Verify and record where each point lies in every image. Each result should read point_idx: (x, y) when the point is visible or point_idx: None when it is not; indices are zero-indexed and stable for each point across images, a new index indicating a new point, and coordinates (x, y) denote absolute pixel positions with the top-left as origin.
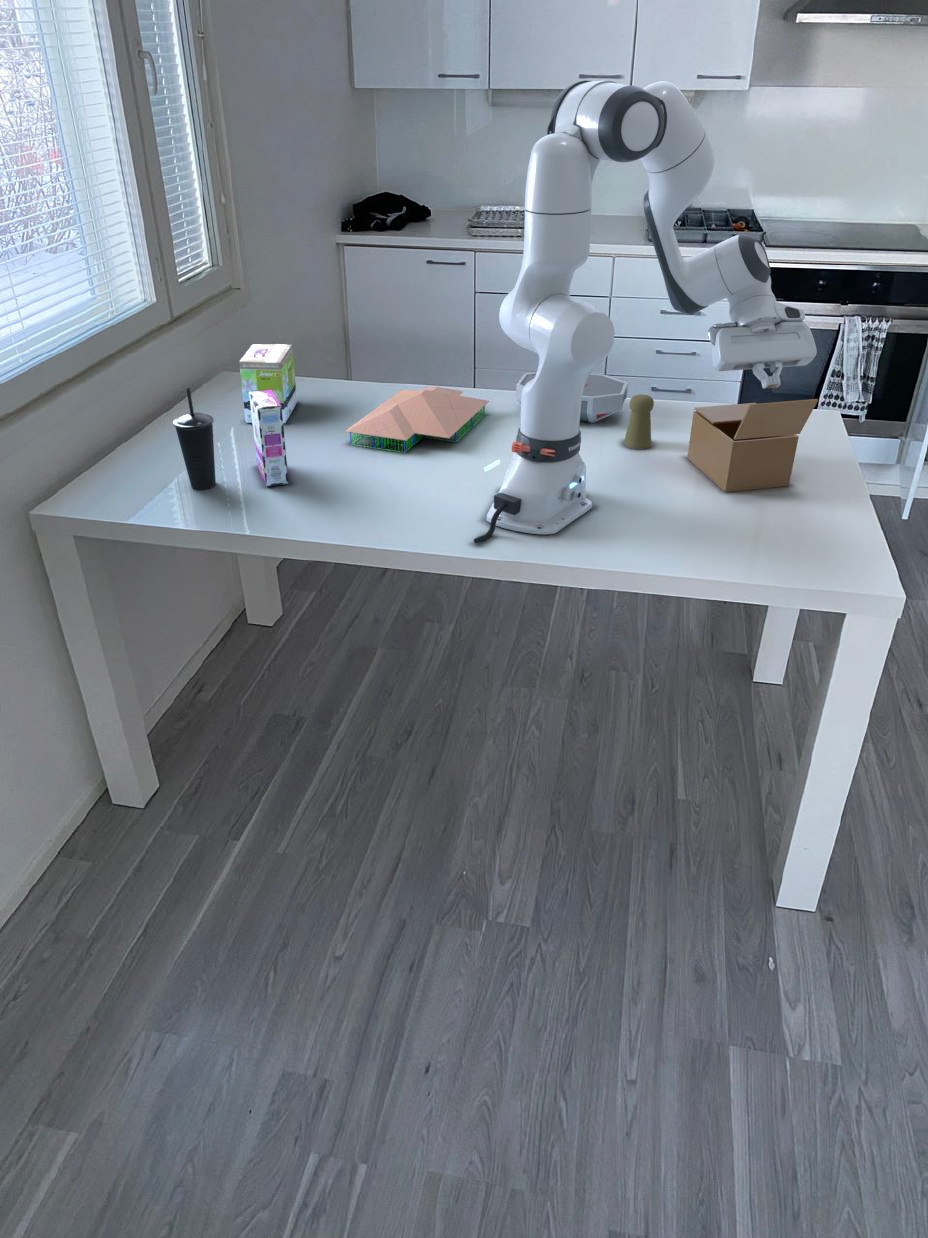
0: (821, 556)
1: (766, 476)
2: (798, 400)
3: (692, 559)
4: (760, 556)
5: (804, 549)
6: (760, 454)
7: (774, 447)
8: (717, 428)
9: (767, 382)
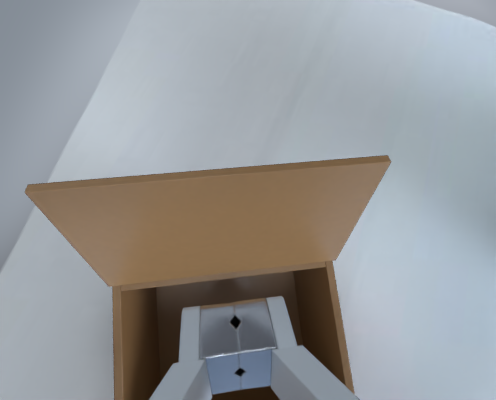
0: (225, 21)
1: None
2: (137, 182)
3: (410, 42)
4: (313, 34)
5: (240, 42)
6: None
7: None
8: (347, 384)
9: (280, 301)
